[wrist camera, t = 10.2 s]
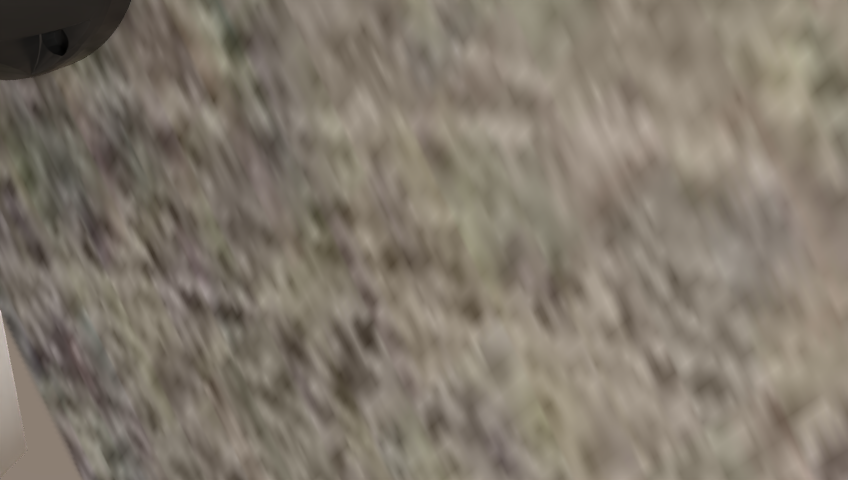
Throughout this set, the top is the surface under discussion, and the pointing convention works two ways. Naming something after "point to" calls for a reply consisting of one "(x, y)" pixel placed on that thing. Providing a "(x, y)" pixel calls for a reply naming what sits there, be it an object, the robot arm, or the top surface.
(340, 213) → the top surface
